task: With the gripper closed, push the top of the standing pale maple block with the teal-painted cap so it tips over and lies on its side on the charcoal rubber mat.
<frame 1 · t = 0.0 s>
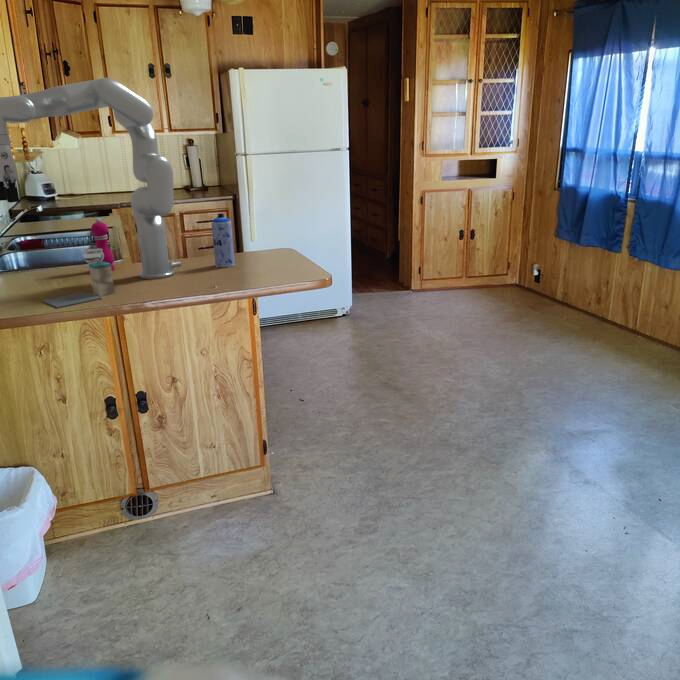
hand: (8, 201, 183), 31 cm above the counter, tool pointing down, fingers open, 9 cm apart
pepper mill: (106, 270, 235), on the counter
aerosol can: (225, 266, 236), on the counter
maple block: (104, 293, 199), on the counter
wineglass: (98, 284, 213), on the counter
rubber mat: (72, 300, 192), on the counter
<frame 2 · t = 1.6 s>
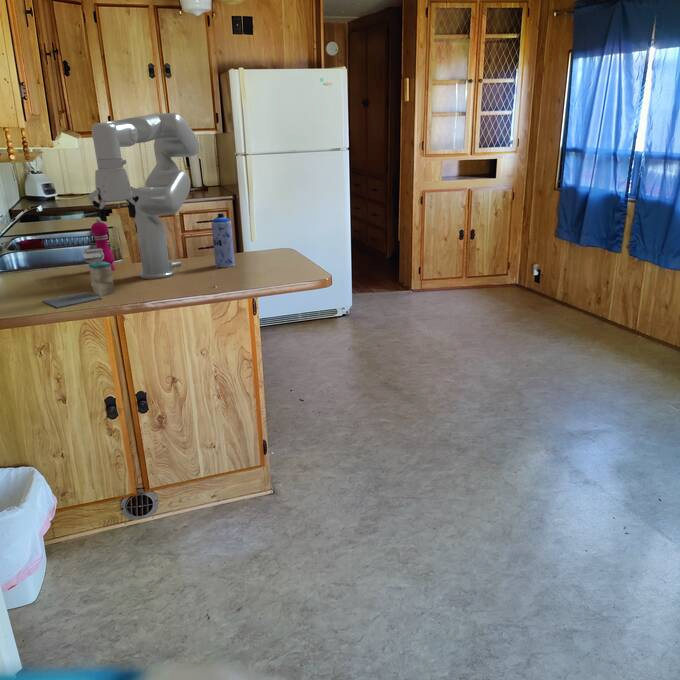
hand: (118, 219, 198), 23 cm above the counter, tool pointing down, fingers open, 9 cm apart
nothing on the counter moved.
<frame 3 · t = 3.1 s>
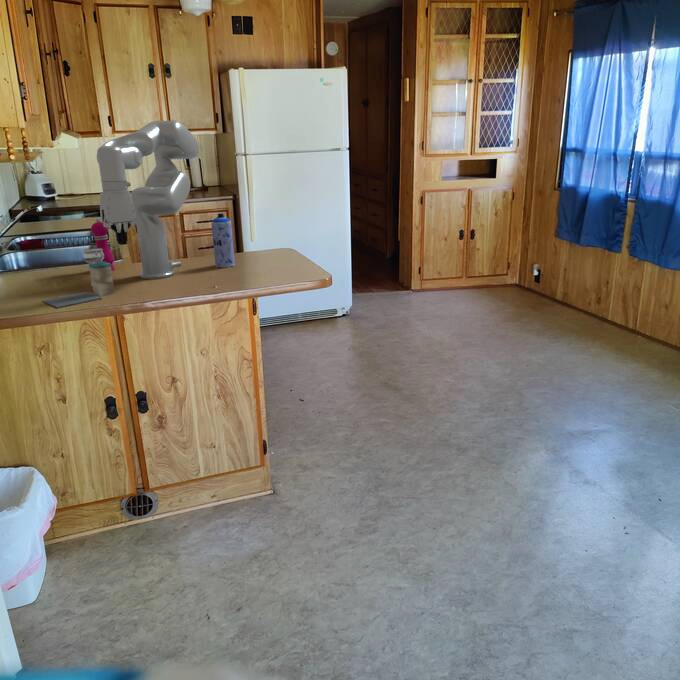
hand: (122, 244, 200), 15 cm above the counter, tool pointing down, fingers closed
nothing on the counter moved.
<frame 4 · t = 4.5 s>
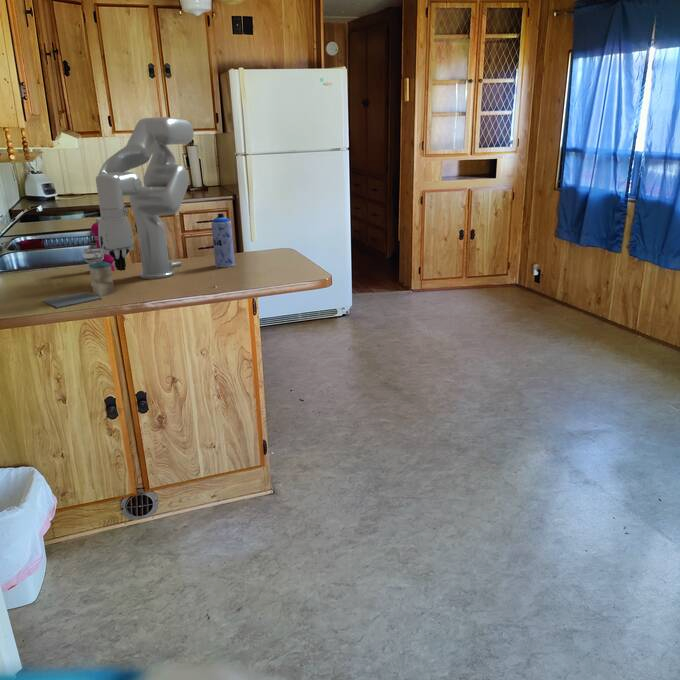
hand: (121, 269, 201), 7 cm above the counter, tool pointing down, fingers closed
nothing on the counter moved.
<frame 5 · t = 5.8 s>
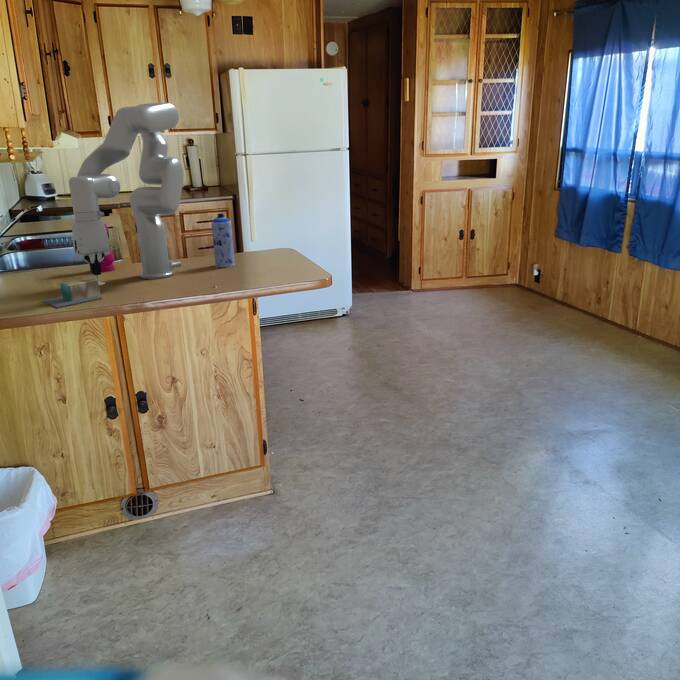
hand: (96, 274, 196), 7 cm above the counter, tool pointing down, fingers closed
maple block: (95, 286, 197), point 3 cm above the counter, tilted 90°, touching rubber mat
everything else where it was.
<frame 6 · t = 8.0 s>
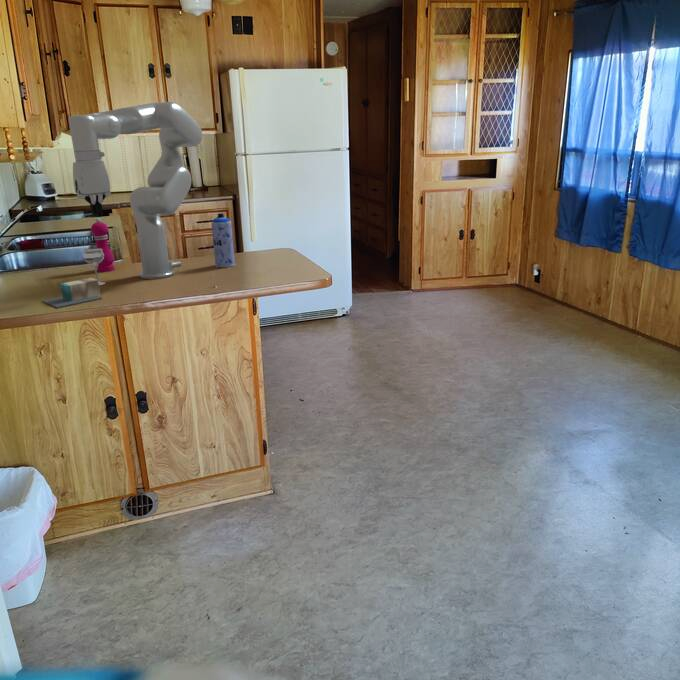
hand: (97, 216, 195), 25 cm above the counter, tool pointing down, fingers closed
nothing on the counter moved.
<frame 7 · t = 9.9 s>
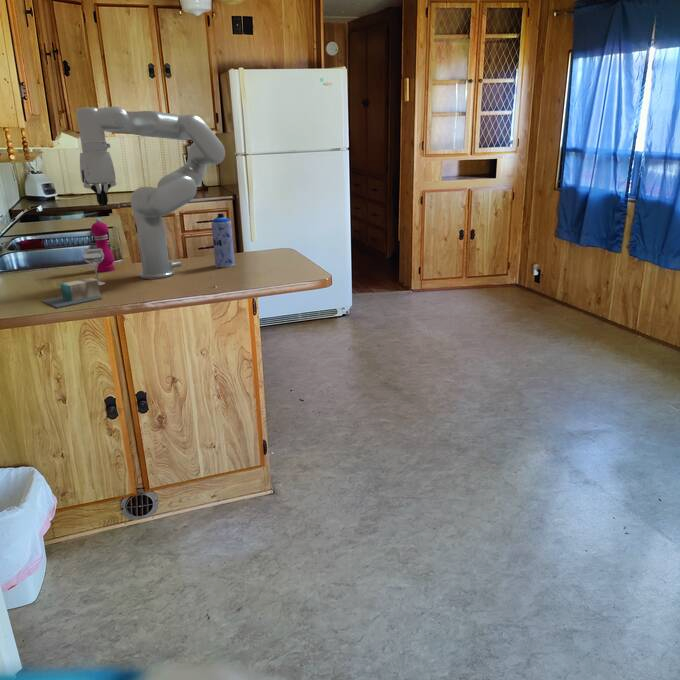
hand: (103, 205, 204), 27 cm above the counter, tool pointing down, fingers closed
nothing on the counter moved.
at the end: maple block tilted 90°; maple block touching rubber mat; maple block inside the target area (0.6 cm from its centre), point 2.9 cm above the counter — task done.
